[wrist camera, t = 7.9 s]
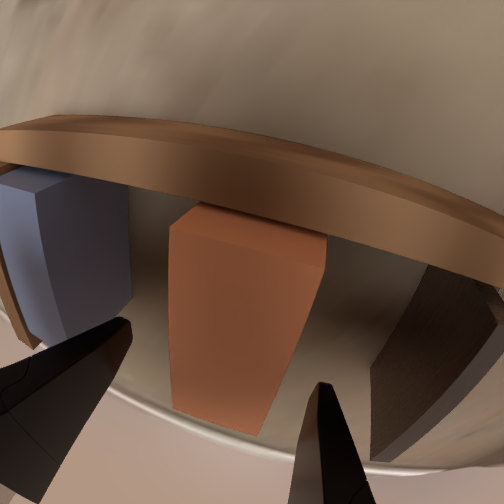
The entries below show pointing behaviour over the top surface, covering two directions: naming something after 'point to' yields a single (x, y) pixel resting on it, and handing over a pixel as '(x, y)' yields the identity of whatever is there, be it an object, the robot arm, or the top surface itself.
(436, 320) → the bookend
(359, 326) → the top surface
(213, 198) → the shelf
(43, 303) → the blue-grey rectangular block
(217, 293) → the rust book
